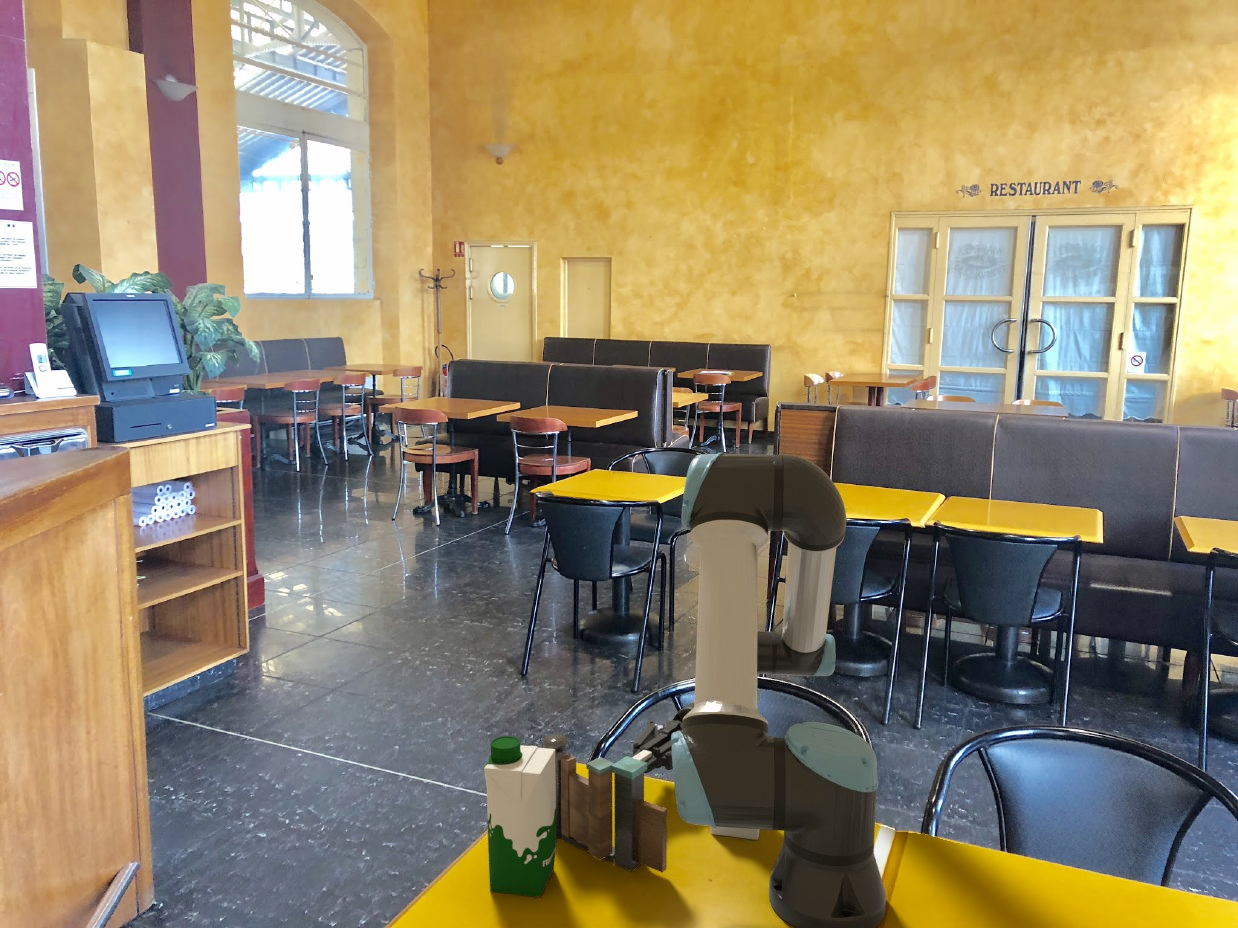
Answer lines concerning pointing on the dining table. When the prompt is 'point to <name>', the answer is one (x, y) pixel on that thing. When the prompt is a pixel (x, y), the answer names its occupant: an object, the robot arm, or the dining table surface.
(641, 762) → the gate posts
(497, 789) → the milk carton
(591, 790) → the gate
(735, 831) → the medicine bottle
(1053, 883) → the dining table surface
